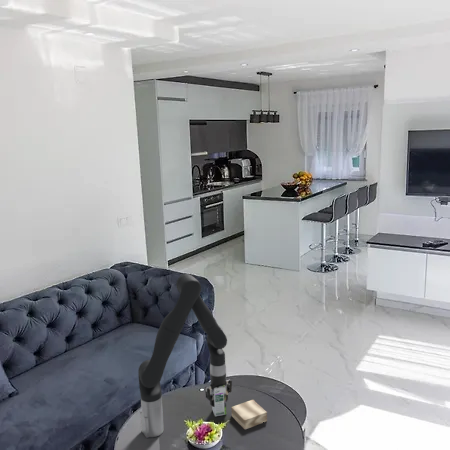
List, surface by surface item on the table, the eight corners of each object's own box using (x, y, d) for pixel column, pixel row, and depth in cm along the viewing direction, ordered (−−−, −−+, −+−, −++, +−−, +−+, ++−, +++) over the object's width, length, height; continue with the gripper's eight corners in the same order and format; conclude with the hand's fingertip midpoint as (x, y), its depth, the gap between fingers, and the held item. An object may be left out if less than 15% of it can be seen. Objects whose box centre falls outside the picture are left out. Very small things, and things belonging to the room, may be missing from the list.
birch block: (244, 430, 208) (244, 420, 206) (231, 416, 218) (231, 407, 217) (266, 421, 213) (266, 412, 212) (253, 408, 223) (252, 399, 222)
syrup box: (215, 417, 217) (214, 389, 214) (212, 409, 223) (211, 382, 220) (226, 414, 219) (225, 387, 216) (223, 407, 224) (222, 380, 221)
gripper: (208, 379, 210) (210, 412, 213) (235, 370, 217) (235, 402, 220) (200, 372, 216) (202, 404, 219) (226, 364, 223) (227, 395, 227)
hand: (219, 403), depth 220 cm, fingers closed on syrup box, 6 cm apart
